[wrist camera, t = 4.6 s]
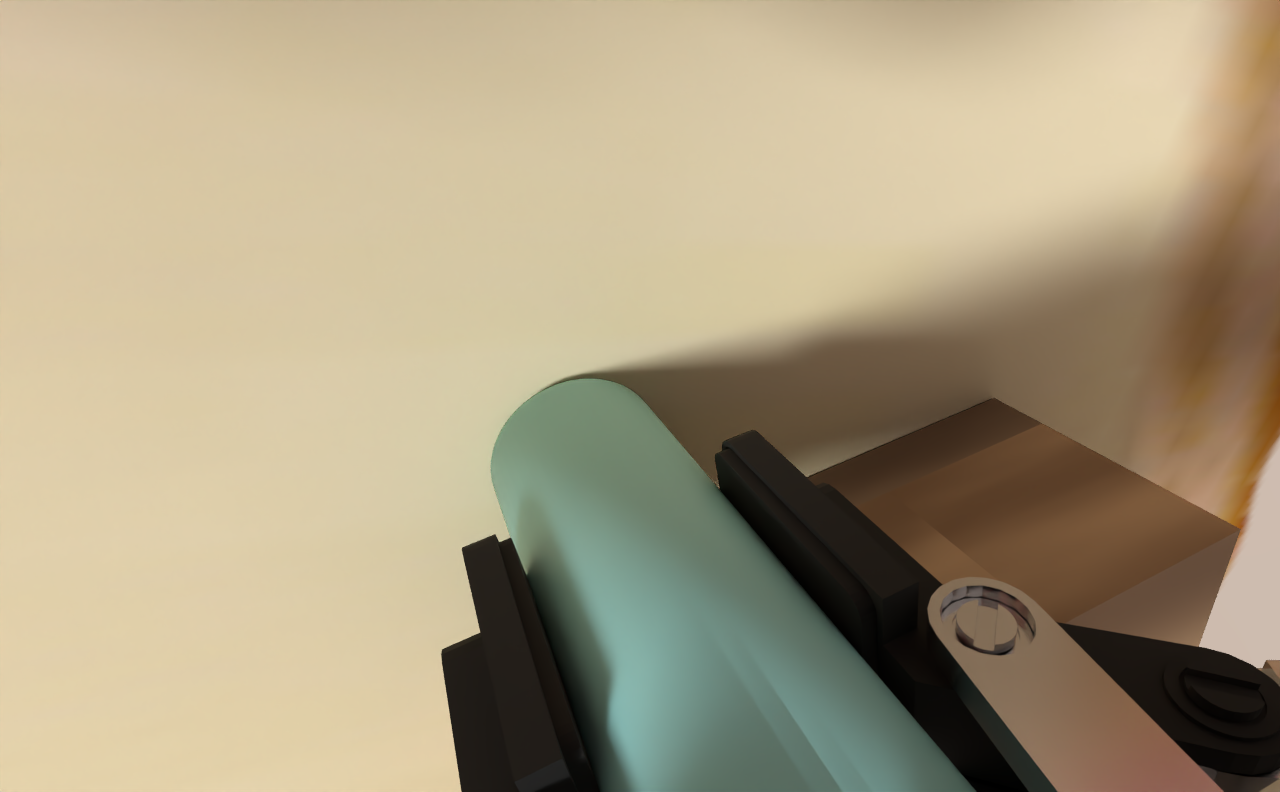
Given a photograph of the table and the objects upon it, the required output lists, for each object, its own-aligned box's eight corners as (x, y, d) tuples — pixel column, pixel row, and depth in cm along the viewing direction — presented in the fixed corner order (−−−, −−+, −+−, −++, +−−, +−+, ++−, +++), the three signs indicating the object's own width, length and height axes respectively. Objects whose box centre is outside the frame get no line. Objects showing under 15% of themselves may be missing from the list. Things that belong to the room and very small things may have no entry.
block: (494, 611, 15) (563, 889, 10) (994, 398, 18) (1240, 529, 13) (635, 923, 23) (712, 1162, 18) (962, 740, 26) (1106, 902, 21)
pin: (465, 416, 12) (784, 1409, 3) (641, 353, 13) (1288, 1015, 4) (519, 554, 14) (821, 1436, 5) (671, 491, 15) (1163, 1159, 6)
